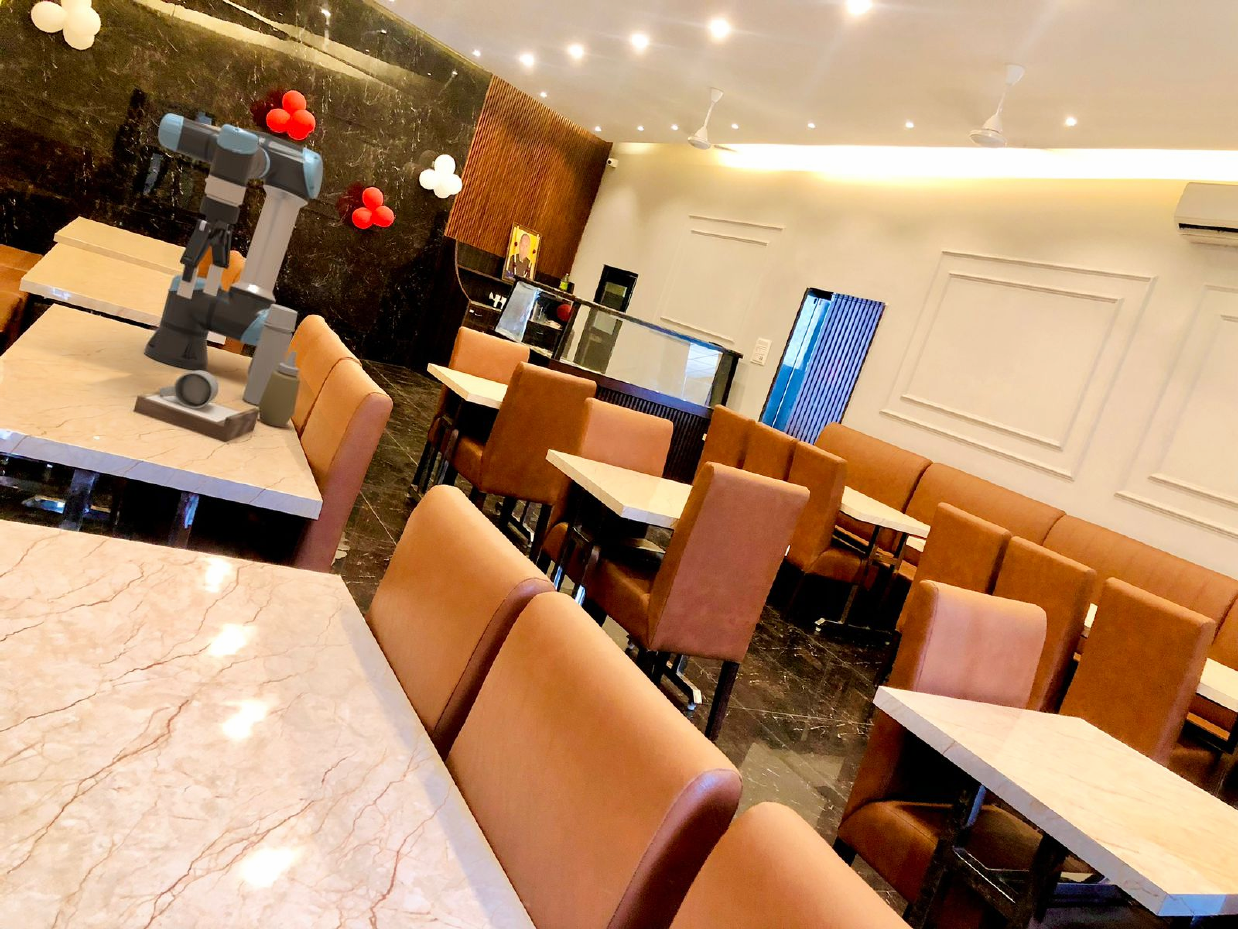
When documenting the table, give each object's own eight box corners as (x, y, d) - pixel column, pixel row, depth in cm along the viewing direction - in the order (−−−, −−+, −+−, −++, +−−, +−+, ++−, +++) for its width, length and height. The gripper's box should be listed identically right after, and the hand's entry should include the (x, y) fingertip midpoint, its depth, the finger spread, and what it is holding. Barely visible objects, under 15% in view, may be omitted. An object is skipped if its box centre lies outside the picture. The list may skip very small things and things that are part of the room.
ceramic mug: (215, 406, 192) (224, 372, 191) (207, 413, 185) (216, 378, 183) (163, 392, 189) (172, 358, 188) (153, 398, 182) (162, 363, 180)
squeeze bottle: (260, 415, 212) (281, 344, 209) (293, 426, 213) (315, 355, 210) (249, 419, 204) (271, 346, 201) (283, 431, 205) (305, 358, 202)
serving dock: (169, 401, 195) (175, 380, 194) (253, 430, 197) (259, 409, 196) (133, 411, 179) (139, 388, 178) (225, 442, 181) (231, 419, 180)
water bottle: (278, 408, 224) (306, 315, 220) (254, 407, 217) (282, 310, 213) (253, 396, 228) (280, 304, 224) (229, 394, 220) (256, 298, 216)
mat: (175, 391, 194) (175, 390, 193) (242, 414, 195) (242, 413, 195) (144, 398, 180) (144, 397, 180) (216, 422, 181) (216, 422, 181)
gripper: (227, 198, 200) (203, 287, 204) (179, 189, 175) (153, 291, 179) (259, 210, 201) (235, 298, 205) (217, 203, 176) (190, 303, 180)
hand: (197, 295), depth 192 cm, fingers open, 13 cm apart
